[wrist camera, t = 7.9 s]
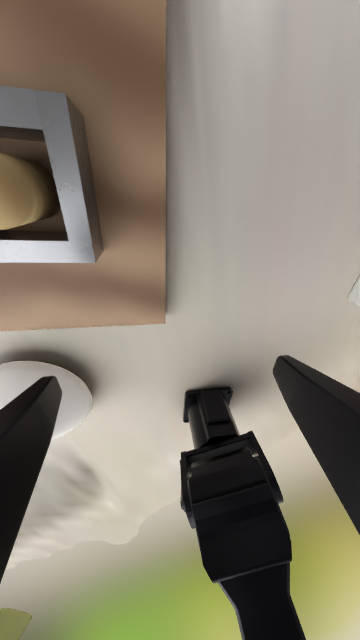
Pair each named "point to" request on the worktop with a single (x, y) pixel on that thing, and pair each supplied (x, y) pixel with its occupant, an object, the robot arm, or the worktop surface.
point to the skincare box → (355, 293)
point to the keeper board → (105, 155)
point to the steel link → (69, 174)
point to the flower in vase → (76, 403)
